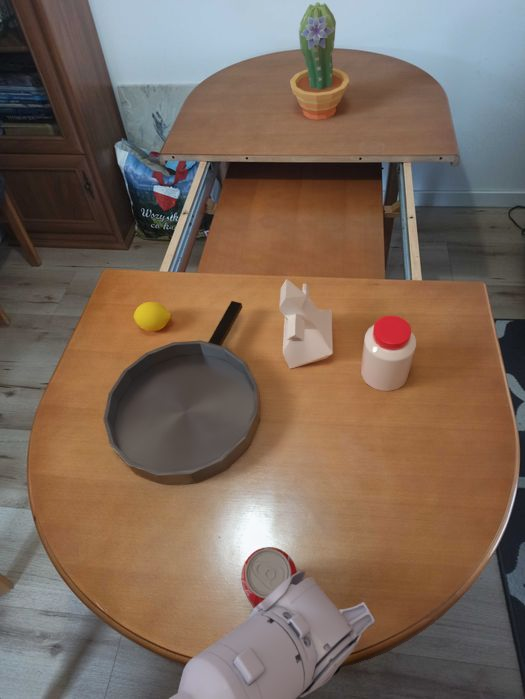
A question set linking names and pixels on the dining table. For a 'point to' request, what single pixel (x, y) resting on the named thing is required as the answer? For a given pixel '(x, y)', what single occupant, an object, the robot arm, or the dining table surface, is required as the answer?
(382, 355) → the pill bottle
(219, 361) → the pan
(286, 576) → the beverage can
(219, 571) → the dining table surface
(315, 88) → the potted cactus
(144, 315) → the lemon
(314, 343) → the white angular piece
